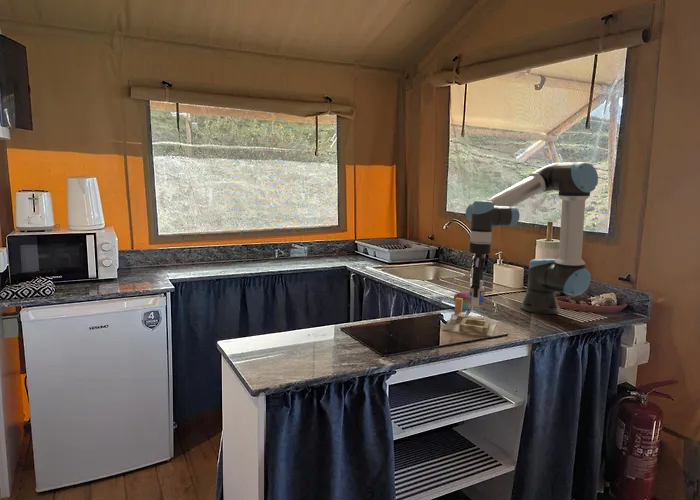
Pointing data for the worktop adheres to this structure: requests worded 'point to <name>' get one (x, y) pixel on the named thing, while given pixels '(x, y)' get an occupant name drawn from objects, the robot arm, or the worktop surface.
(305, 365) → the worktop surface
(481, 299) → the pill bottle
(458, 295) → the cupcake
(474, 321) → the mount
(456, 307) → the lock bar
